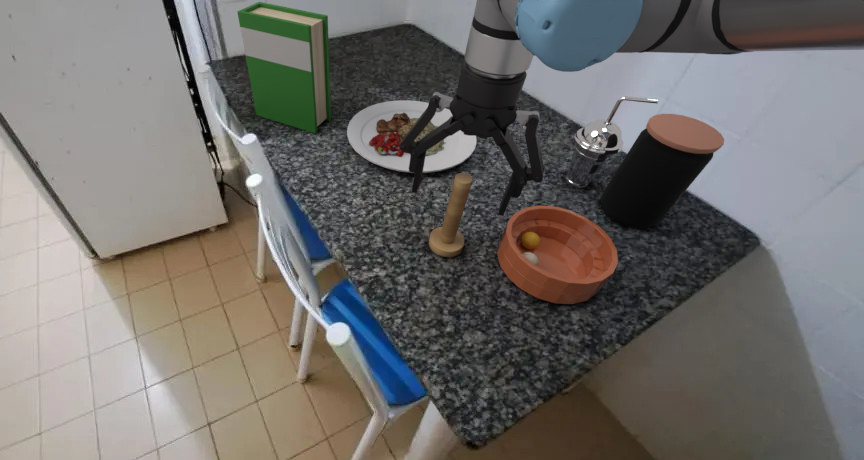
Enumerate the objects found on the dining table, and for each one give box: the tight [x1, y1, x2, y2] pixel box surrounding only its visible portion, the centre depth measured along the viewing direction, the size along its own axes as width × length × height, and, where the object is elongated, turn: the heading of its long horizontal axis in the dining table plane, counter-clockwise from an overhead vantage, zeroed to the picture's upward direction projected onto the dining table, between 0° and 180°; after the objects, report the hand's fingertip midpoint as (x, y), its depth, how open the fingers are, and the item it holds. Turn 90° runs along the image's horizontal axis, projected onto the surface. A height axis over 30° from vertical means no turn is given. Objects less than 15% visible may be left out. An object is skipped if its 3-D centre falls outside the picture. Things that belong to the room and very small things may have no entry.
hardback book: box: [236, 1, 332, 135], centre depth 90 cm, size 18×7×24 cm, turn 62°
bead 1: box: [521, 232, 540, 249], centre depth 67 cm, size 3×3×3 cm
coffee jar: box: [600, 113, 725, 229], centre depth 69 cm, size 11×11×18 cm
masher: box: [428, 172, 474, 258], centre depth 64 cm, size 6×6×15 cm
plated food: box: [346, 99, 478, 174], centre depth 91 cm, size 30×30×3 cm
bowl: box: [496, 205, 619, 305], centre depth 64 cm, size 17×17×6 cm
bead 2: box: [522, 252, 538, 266], centre depth 64 cm, size 3×3×3 cm
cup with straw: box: [564, 95, 659, 189], centre depth 75 cm, size 8×9×20 cm
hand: (457, 198), depth 62 cm, fingers open, 13 cm apart
